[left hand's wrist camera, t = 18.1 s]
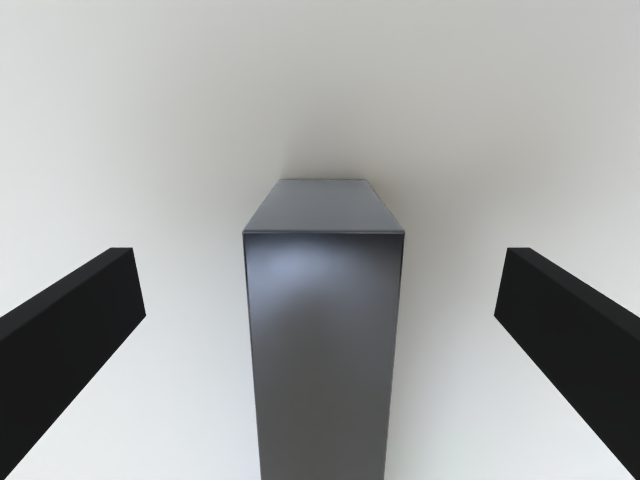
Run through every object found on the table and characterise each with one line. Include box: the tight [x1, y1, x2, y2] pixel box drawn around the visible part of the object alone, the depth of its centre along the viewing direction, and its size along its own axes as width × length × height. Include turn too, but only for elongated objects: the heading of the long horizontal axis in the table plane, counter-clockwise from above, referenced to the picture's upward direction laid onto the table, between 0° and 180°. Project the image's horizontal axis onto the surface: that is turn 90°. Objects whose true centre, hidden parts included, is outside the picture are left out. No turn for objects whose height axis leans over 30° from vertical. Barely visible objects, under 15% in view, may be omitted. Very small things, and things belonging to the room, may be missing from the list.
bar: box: [242, 179, 405, 480], centre depth 18 cm, size 27×4×9 cm, turn 0°
